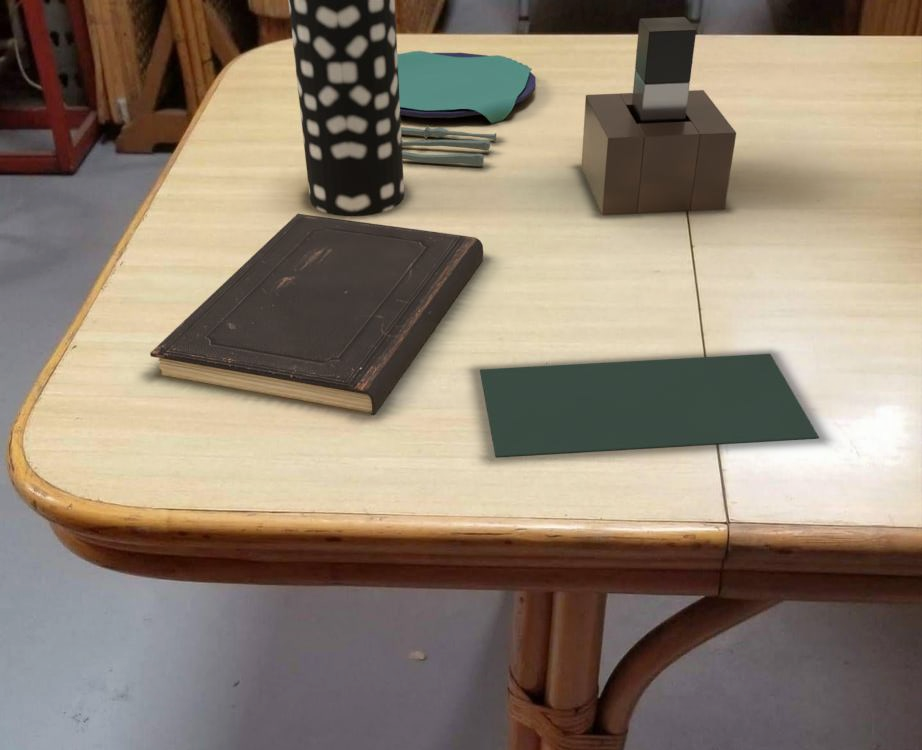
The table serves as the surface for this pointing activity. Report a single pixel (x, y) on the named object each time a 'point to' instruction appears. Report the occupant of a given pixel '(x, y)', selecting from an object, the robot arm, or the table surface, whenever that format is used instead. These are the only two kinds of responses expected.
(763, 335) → the table surface
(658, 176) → the holder
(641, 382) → the mat
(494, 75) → the cutlery set
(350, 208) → the spotted tube
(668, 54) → the brushed metal bar
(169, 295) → the table surface
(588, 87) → the table surface
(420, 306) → the hardcover book
